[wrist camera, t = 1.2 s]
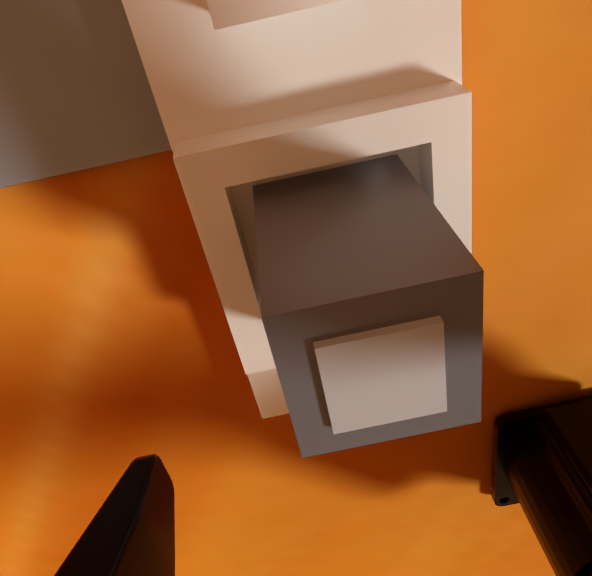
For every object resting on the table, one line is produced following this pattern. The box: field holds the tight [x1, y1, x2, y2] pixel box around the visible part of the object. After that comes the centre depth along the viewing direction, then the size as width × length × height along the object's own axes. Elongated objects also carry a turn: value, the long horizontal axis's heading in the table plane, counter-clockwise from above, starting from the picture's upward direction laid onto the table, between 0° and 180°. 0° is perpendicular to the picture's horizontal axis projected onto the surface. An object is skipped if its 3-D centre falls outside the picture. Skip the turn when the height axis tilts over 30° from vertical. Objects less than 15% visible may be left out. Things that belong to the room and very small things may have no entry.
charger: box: [253, 154, 484, 458], centre depth 13 cm, size 4×4×6 cm
